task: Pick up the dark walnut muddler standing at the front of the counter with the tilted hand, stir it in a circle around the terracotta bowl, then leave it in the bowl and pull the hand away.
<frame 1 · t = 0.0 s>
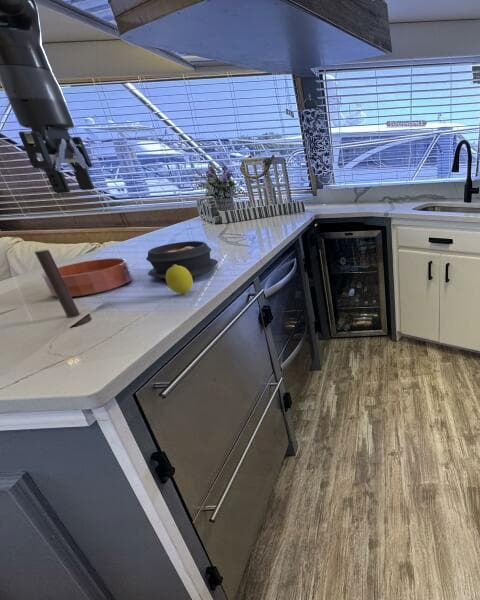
hand: (76, 191, 66), 26 cm above the worktop, tool pointing down, fingers open, 8 cm apart
lemon: (184, 295, 83), on the worktop
casserole: (186, 273, 100), on the worktop
bowl: (95, 287, 91), on the worktop
muddler: (77, 322, 70), on the worktop
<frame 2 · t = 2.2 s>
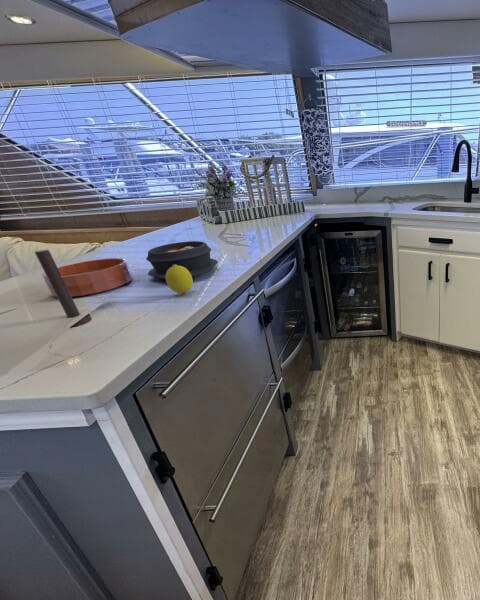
nothing on the worktop moved.
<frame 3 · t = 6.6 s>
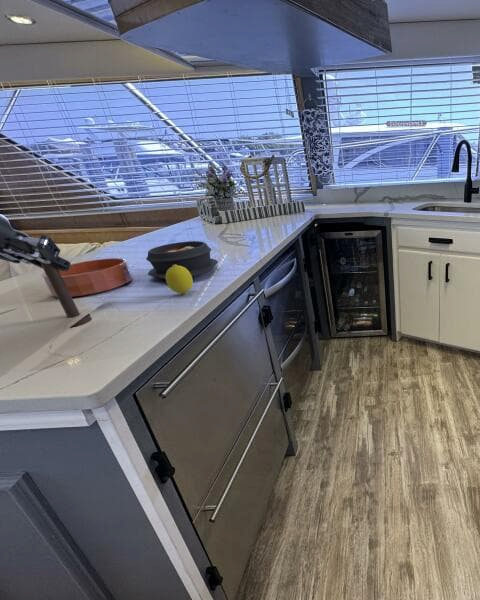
hand: (61, 267, 67), 12 cm above the worktop, tool tilted 45°, fingers closed on muddler
muddler: (77, 322, 70), on the worktop, touching gripper
everything else where it was.
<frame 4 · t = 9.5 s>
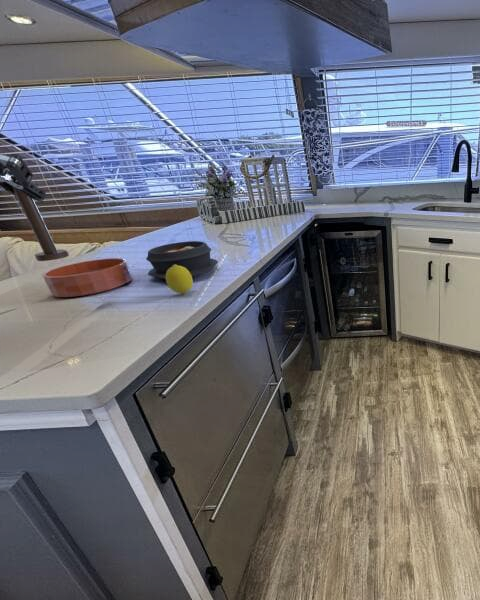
hand: (36, 197, 64), 26 cm above the worktop, tool tilted 45°, fingers closed on muddler
muddler: (53, 257, 67), point 14 cm above the worktop, touching gripper
everything else where it was.
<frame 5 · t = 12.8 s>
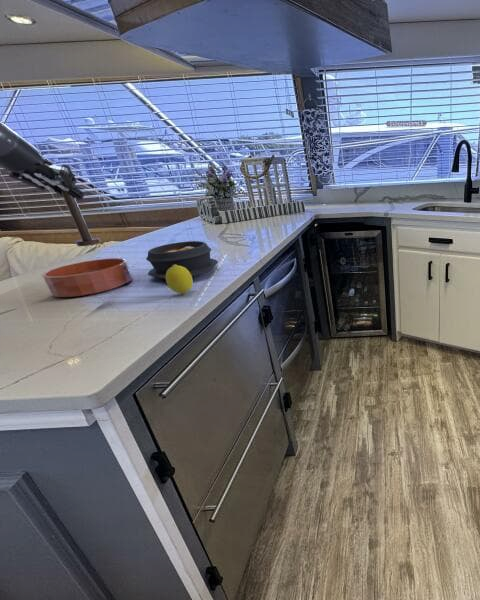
hand: (76, 197, 84), 24 cm above the worktop, tool tilted 45°, fingers closed on muddler
muddler: (89, 244, 86), point 12 cm above the worktop, touching gripper
everything else where it was.
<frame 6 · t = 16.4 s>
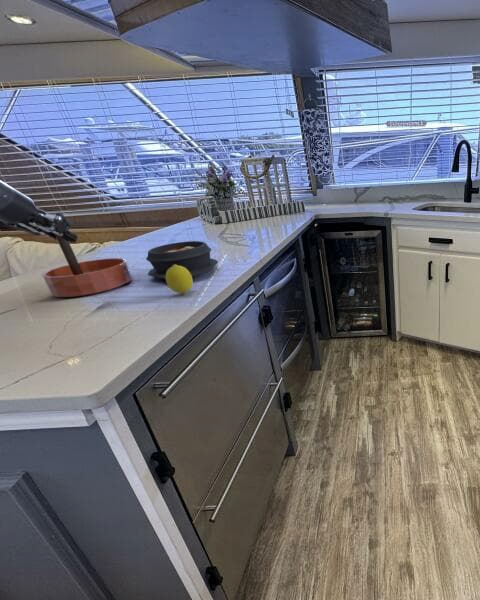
hand: (70, 240, 87), 13 cm above the worktop, tool tilted 45°, fingers closed on muddler
muddler: (82, 283, 89), point 1 cm above the worktop, touching gripper
everything else where it was.
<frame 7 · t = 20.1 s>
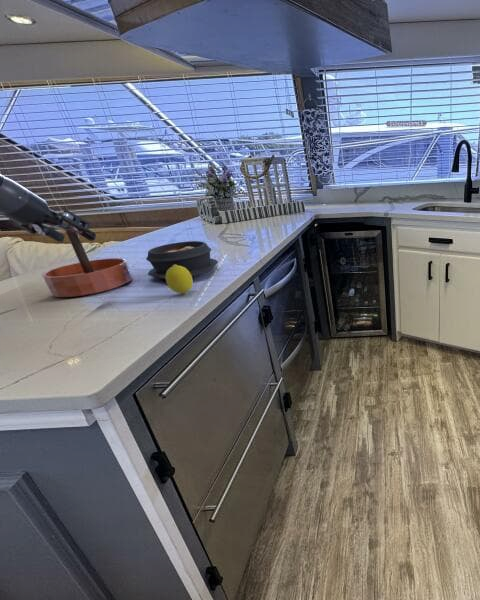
hand: (78, 238, 87), 14 cm above the worktop, tool tilted 45°, fingers open, 8 cm apart
muddler: (95, 285, 91), point 1 cm above the worktop, touching bowl
everything else where it was.
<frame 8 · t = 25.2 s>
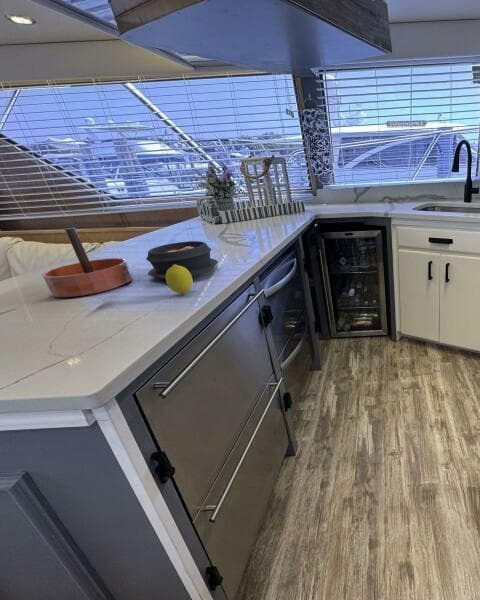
nothing on the worktop moved.
at the end: muddler inside the target area in the bowl (0.2 cm from its centre), point 0.6 cm above the bowl's base; muddler moved 28.4 cm from its start; the gripper is holding nothing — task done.
